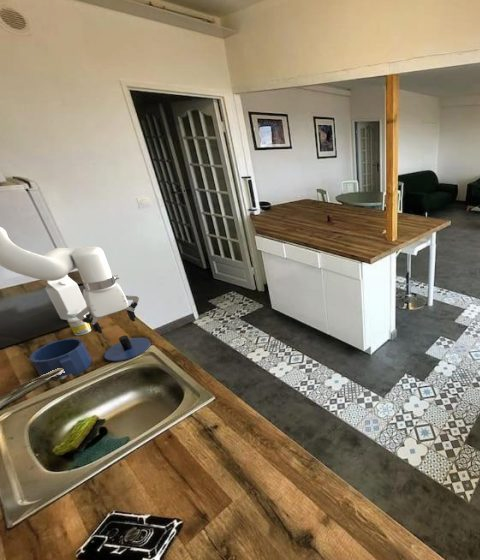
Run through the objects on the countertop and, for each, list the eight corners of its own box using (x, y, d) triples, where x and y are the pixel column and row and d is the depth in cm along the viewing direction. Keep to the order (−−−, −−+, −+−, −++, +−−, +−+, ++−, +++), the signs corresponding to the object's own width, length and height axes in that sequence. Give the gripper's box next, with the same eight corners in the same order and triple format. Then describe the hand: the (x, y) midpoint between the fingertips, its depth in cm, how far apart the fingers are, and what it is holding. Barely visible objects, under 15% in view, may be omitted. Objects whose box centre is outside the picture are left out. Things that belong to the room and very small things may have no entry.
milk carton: (60, 319, 135) (40, 280, 127) (79, 311, 141) (60, 273, 133) (73, 321, 133) (53, 282, 125) (90, 313, 140) (73, 275, 131)
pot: (49, 391, 98) (36, 370, 94) (35, 368, 107) (23, 348, 103) (99, 369, 107) (90, 349, 104) (83, 350, 116) (73, 331, 113)
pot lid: (113, 367, 108) (106, 353, 105) (99, 353, 115) (93, 339, 112) (157, 348, 118) (152, 334, 116) (142, 335, 125) (137, 323, 122)
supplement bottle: (83, 336, 124) (73, 315, 120) (70, 335, 124) (60, 315, 120) (95, 328, 129) (86, 308, 125) (82, 328, 129) (73, 308, 125)
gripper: (126, 272, 113) (140, 312, 120) (61, 289, 100) (81, 333, 107) (134, 277, 109) (148, 319, 116) (68, 295, 96) (89, 341, 103)
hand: (116, 325), depth 111 cm, fingers open, 9 cm apart
